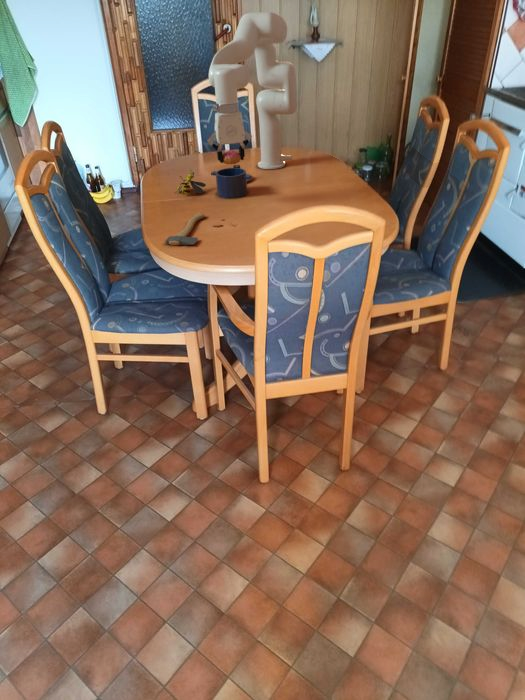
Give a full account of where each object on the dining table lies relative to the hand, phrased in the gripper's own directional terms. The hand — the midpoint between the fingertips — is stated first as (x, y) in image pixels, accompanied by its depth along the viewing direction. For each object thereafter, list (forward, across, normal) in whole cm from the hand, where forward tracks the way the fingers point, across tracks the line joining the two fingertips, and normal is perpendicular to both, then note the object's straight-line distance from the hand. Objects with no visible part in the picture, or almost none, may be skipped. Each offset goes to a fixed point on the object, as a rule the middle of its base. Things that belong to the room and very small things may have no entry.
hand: (231, 160), depth 194 cm
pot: (+16, +2, +12) cm, 20 cm away
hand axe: (+16, -21, -20) cm, 33 cm away
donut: (+1, 0, 0) cm, 1 cm away
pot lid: (+16, +9, +28) cm, 33 cm away
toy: (+16, -15, +18) cm, 28 cm away
